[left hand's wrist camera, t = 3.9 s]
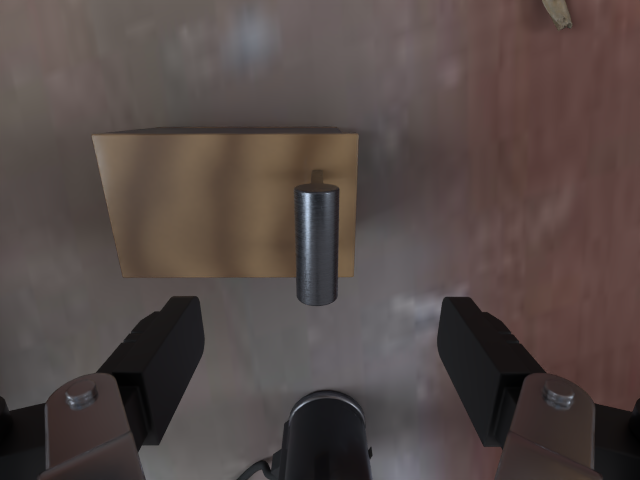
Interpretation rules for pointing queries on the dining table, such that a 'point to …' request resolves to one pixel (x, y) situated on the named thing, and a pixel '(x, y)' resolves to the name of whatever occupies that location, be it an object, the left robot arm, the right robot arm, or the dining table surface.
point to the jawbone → (558, 13)
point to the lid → (233, 205)
